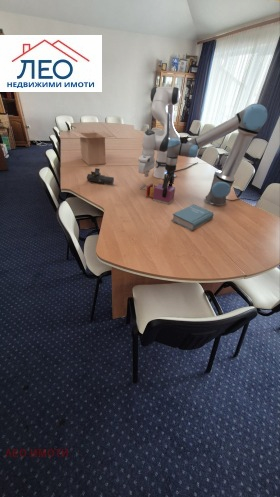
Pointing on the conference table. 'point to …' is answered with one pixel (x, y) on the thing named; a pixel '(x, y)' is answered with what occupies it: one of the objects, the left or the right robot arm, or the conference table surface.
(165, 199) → the cabinet
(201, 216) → the book
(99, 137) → the box
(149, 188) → the drawer
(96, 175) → the laser sight
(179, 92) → the left robot arm
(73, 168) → the conference table surface
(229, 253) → the conference table surface
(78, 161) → the conference table surface
